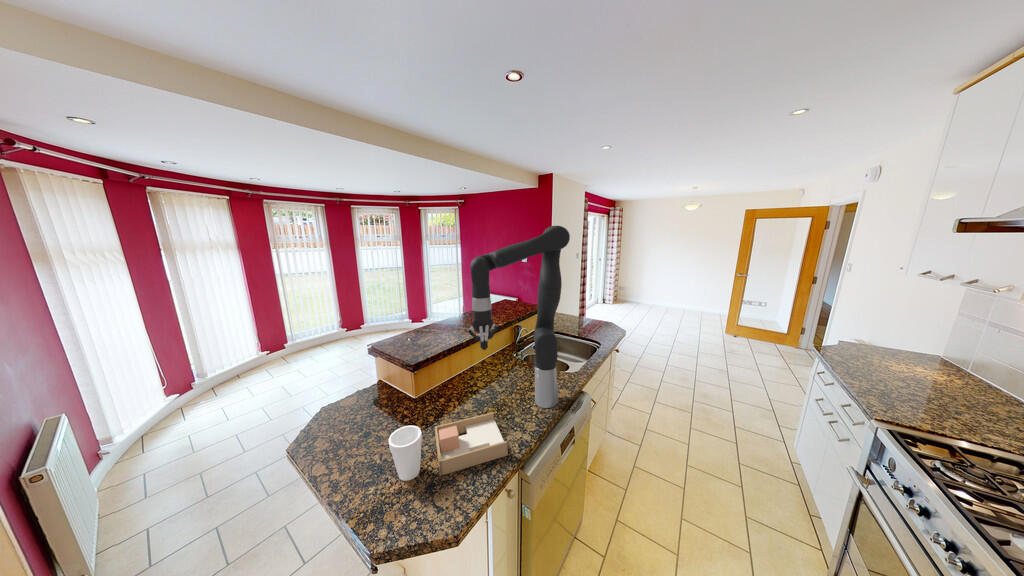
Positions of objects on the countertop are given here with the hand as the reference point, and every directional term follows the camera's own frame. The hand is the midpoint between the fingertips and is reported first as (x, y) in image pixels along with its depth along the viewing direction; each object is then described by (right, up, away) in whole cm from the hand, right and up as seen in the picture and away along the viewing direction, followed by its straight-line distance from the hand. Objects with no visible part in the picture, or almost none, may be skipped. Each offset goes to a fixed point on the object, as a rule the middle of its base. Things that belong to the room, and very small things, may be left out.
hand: (484, 349), depth 113 cm
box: (-3, -31, -16) cm, 35 cm away
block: (-10, -29, -18) cm, 35 cm away
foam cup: (-21, -33, -25) cm, 47 cm away
